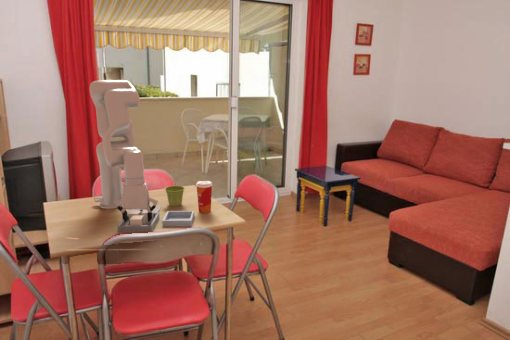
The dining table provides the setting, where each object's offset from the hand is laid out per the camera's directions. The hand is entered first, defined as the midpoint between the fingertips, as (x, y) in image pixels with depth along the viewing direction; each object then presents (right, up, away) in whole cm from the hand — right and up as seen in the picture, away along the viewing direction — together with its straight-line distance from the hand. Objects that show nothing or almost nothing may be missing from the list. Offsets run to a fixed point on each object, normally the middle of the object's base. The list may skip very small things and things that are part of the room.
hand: (137, 221), depth 165 cm
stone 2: (+2, -1, +9) cm, 9 cm away
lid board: (-3, +1, +20) cm, 20 cm away
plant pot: (+9, +4, +31) cm, 33 cm away
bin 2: (+15, -2, +9) cm, 18 cm away
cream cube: (0, -3, +1) cm, 3 cm away
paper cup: (+25, +1, +23) cm, 34 cm away
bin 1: (-1, -3, +5) cm, 5 cm away
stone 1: (-3, -1, +8) cm, 9 cm away
